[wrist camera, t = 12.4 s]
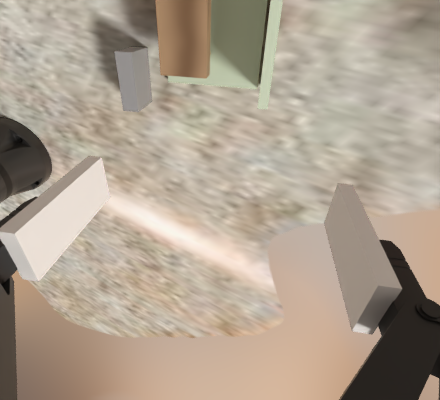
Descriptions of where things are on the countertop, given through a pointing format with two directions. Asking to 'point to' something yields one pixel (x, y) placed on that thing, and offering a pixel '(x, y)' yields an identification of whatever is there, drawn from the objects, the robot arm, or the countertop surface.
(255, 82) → the cabinet
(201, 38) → the shelf board
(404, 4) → the countertop surface
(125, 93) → the block
